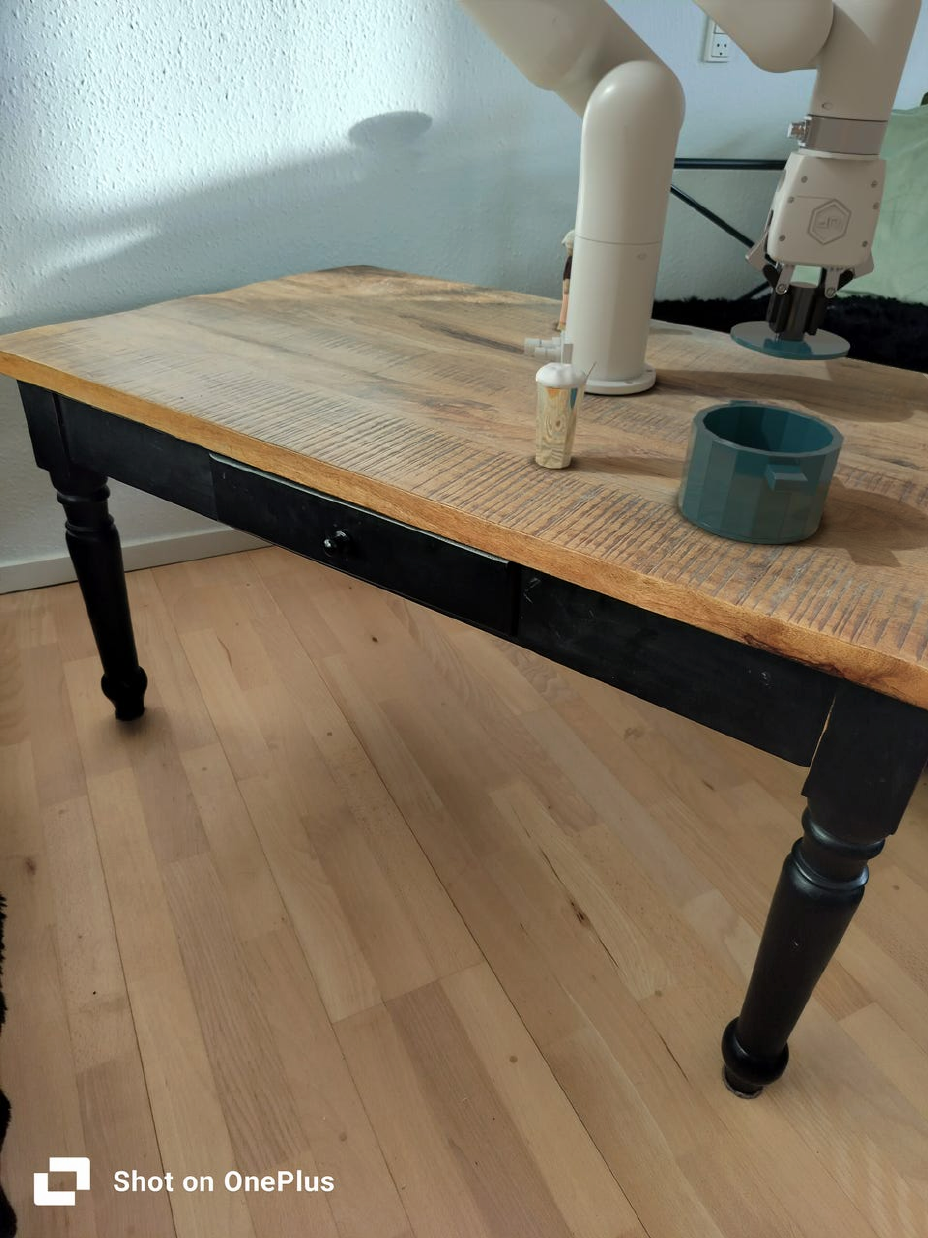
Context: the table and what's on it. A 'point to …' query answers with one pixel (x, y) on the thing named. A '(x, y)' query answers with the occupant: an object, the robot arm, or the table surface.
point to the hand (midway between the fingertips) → (791, 329)
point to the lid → (792, 332)
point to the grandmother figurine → (566, 278)
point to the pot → (758, 472)
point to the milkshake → (558, 412)
